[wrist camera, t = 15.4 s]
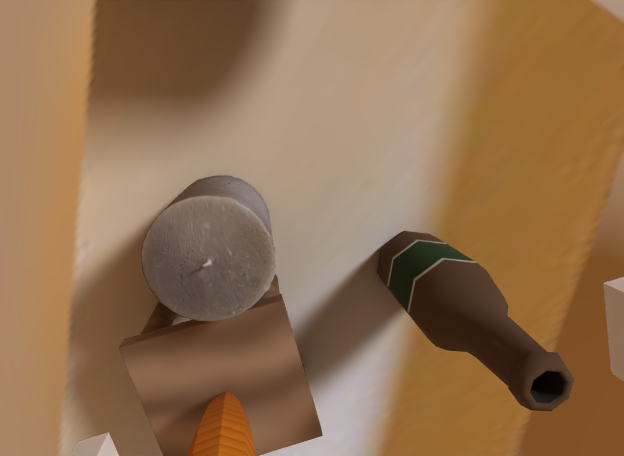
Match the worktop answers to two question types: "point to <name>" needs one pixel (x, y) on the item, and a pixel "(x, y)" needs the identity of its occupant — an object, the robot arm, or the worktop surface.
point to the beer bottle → (470, 317)
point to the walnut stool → (223, 375)
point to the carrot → (223, 430)
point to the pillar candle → (211, 250)
